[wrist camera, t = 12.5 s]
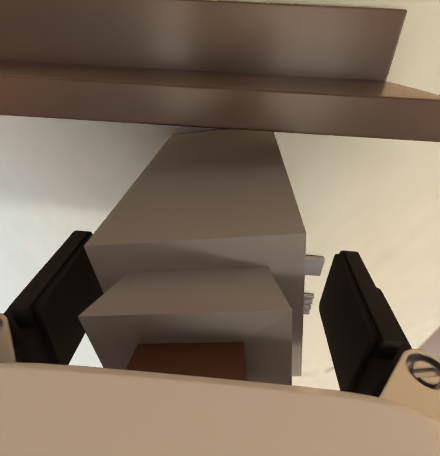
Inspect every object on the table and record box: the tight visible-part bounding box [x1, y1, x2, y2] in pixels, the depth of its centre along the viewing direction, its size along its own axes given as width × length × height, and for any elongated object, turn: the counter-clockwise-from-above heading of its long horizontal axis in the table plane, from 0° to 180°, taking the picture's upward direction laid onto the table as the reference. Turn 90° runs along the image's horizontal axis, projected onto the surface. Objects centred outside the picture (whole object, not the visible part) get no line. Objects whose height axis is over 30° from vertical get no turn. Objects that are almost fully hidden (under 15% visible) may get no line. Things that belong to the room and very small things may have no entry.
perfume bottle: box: [78, 129, 306, 385], centre depth 15 cm, size 7×7×18 cm
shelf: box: [0, 0, 440, 142], centre depth 15 cm, size 5×24×8 cm, turn 87°
